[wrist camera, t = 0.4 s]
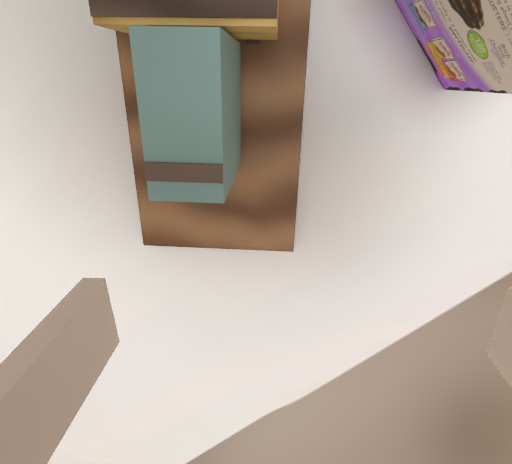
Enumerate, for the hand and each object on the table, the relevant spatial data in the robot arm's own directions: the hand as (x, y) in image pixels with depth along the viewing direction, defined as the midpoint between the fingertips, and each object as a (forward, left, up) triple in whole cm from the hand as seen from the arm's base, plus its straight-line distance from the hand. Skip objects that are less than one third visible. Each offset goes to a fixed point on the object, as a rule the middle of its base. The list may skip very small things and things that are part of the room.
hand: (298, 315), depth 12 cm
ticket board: (-3, -7, -24) cm, 25 cm away
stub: (-5, -7, -23) cm, 24 cm away
